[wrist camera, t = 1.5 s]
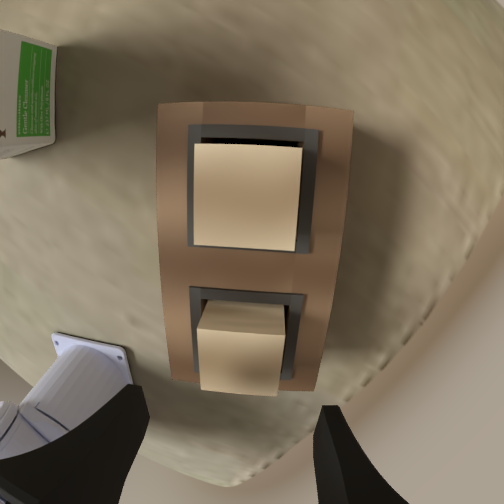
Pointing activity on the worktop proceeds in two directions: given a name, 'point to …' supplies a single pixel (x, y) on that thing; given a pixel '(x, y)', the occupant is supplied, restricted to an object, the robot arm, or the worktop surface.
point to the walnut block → (249, 259)
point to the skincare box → (26, 94)
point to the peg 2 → (241, 347)
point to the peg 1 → (246, 195)
